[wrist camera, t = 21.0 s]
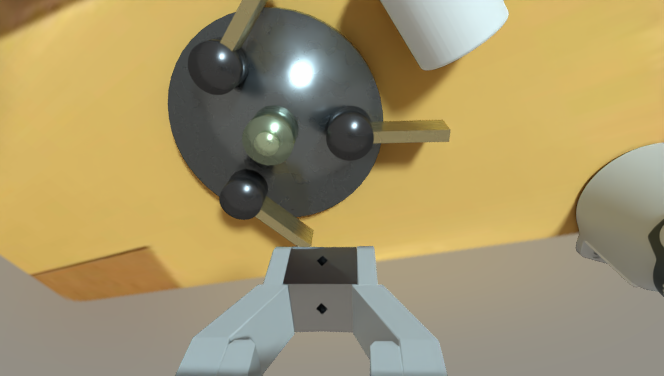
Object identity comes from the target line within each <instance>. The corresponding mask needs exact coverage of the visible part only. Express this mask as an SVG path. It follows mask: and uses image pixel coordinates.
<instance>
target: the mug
mask: <svg viewBox="0 0 664 376" xmlns="http://www.w3.org/2000/svg"><path fill="white" fill-rule="evenodd" d="M380 1H381V3H382V4H383V6H384V8H385V9H386V11H387V13H388V14H389V16H390V18H391V19H392V21H393V23H394V24H395V26H396V28H397V29H398V31H399V33H400V34H401V36H402V38H403V39H404V41H405V43H406V44H407V46H408V48H409V49H410V51H411V53H412V54H413V56H414V58H415V59H416V61H417V63H418V64H419V66H420V68H421V69H423V70H434V69H437V68H440V67H443V66H445V65H447V64H450V63H452V62H454V61H456V60H457V59H459V58H461V57H463V56H464V55H466V54H468V53H469V52H471V51H473V50H474V49H476V48H477V47H478V46H480V45H481V44H483V43H484V42H485V41H487V40H488V39H489V38H490V37H491V36H493V35H494V34H495V33H496V32H497V31H498V30H499V29H500V28H501V27H502V26H503V25H504V23H505V22H506V20H507V18H508V10H507V8H506V6H505V4H504V2H503V1H504V0H380Z"/></svg>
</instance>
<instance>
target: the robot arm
mask: <svg viewBox="0 0 664 376" xmlns="http://www.w3.org/2000/svg"><path fill="white" fill-rule="evenodd" d="M576 219H577V224H578V228H579V236H578V240H577V244H576V251H577V252H578V253H579V254H580V255H581V256H583V257H585V258H589V259H592V260H596V261H599V262H603V263H607V264H609V265H610V266H611V267H612V268H613V269H614V270H615V271H616V272H617V273H618V274H619V275H620V276H621V277H623V278H624V279H625V280H626V281H627V282H628V283H629V284H631V285H632V286H634V287H641V288H643V289H646V290H651V291H658V292H659V293H660V294H661V295H662V296H663V297H664V143H657V144H651V145H647V146H644V147H640V148H637V149H635V150H632V151H630V152H628V153H626V154H624V155H622V156H620V157H618V158H617V159H615V160H613V161H612V162H610V163H609V164H608V165H606V166H605V167H604V168H602V169H601V170H600V171H599V172H598V173H597V174H596V175H595V176H594V177H593V178H592V179H591V180H590V182H589V183H588V184H587V186H586V187H585V189H584V190H583V192H582V194H581V196H580V198H579V201H578V204H577V209H576ZM309 331H310V332H314V331H330V332H353V334H354V336H355V337H356V338H357V340H358V342H359V343H360V345H361V347H362V348H363V350H364V351H365V353H366V355H367V356H368V358H369V359H370V376H448V375H447V371H446V367H445V364H444V360H443V356H442V352H441V348H440V344H439V341H438V340H437V339H436V338H435V337H434V336H433V335H432V334H431V333H430V332H429V331H428V330H427V329H426V328H425V327H424V326H423V325H422V324H421V323H420V322H419V321H418V320H417V319H416V317H415V316H413V314H411V312H410V311H408V309H406V307H404V305H403V304H401V303H400V301H399V300H398V299H397V298H396V297H394V295H393V294H392V293H390V291H389V290H387V288H386V287H385V286H384V285H378V281H377V271H376V260H375V250H374V247H373V246H359V247H357V249H356V247H276V248H275V249H274V250H273V253H272V256H271V260H270V263H269V266H268V269H267V273H266V276H265V279H264V282H263V285H257V286H256V287H255V288H253V289H252V290H251V291H250V292H249V293H247V294H246V295H245V296H244V297H242V298H241V299H240V300H239V301H237V302H236V303H235V304H234V305H232V306H231V307H230V308H229V309H228V310H226V311H225V312H224V313H223V314H221V315H220V316H219V317H218V318H216V319H215V320H214V321H213V322H212V323H210V324H209V325H208V326H207V327H205V328H204V329H203V330H202V331H200V332H199V333H198V334H197V335H196V336H194V337H193V338H192V341H191V343H190V345H189V347H188V349H187V351H186V353H185V356H184V358H183V360H182V362H181V364H180V366H179V369H178V371H177V373H176V375H175V376H263V373H264V372H265V371H266V370H267V368H268V367H269V366H270V364H271V363H272V362H273V361H274V359H275V358H276V357H277V355H278V354H279V353H280V352H281V350H282V349H283V348H284V347H285V345H286V344H287V343H288V341H289V340H290V339H291V337H292V336H293V335H294V334H295V333H294V332H309Z"/></svg>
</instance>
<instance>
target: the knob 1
mask: <svg viewBox="0 0 664 376" xmlns="http://www.w3.org/2000/svg"><path fill="white" fill-rule="evenodd" d="M267 1H268V0H242V2H241V4H240V6H239V7H238V9H237V11H236V13H235V15H234V17H233V19H232V21H231V23H230V24H229V26H228V28H227V30H226V32H225V34H224V36H223V37H218V38H214V39H211V40H208V41H205V42H202V43H199V44H198V45H196V46H195V47H194V48H193V49H192V50H191V52H190V54H189V57H188V70H189V73H190V76H191V78H192V80H193V81H194V83H195V84H196V85H197V86H198V87H199V88H200V89H202V90H203V91H205V92H207V93H209V94H213V95H223V94H226V93H228V92H230V91H231V90H233V89H234V88H235V87H236V86H238V85H239V84H240V83H241V82H243V81H244V79H245V78H246V76H247V74H248V71H249V61H248V57H247V54H246V52H245V51H244V49H243V48H242V45H243V44H244V42H245V40H246V38H247V36H248V35H249V33H250V31H251V29H252V28H253V26H254V24H255V22H256V20H257V19H258V17H259V15H260V13H261V12H262V10H263V8H264V6H265V4H266V3H267Z"/></svg>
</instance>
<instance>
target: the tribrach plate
mask: <svg viewBox="0 0 664 376" xmlns="http://www.w3.org/2000/svg"><path fill="white" fill-rule="evenodd" d="M235 13H236V12H235ZM235 13H232V14H228V15H226V16H224V17H222V18H220V19H218V20H216V21H214V22H212V23H211V24H209V25H208V26H206V27H205V28H204V29H202V30H201V31H200V32H199V33H198V34H197V35H196V36H195V37H194V38H193V39H192V40H191V41H190V42H189V44H188V45H187V46H186V47H185V49H184V50H183V52H182V53H181V55H180V57H179V59H178V61H177V63H176V65H175V68H174V71H173V73H172V76H171V81H170V86H169V92H168V112H169V120H170V125H171V130H172V133H173V136H174V139H175V142H176V145H177V147H178V149H179V151H180V153H181V155H182V157H183V158H184V160H185V161H186V163H187V164H188V166H189V168H190V169H191V170H192V171H193V172H194V174H195V175H196V176H197V177H198V178H199V179H200V180H201V181H202V182H203V183H204V184H205V185H206V186H207V187H208V188H209V189H210V190H211V191H213V192H214V193H215V194H216V195H218V196H219V197H220V193H221V191H222V190H223V188H224V187H225V185H226V184H227V182H228V181H229V179H230V178H231V176H232V175H233V174H234V173H235V172H237V171H239V170H242V169H249V170H253V171H256V172H258V173H259V174H261V175H262V176H263V177H264V179H265V180H266V182H267V185H268V193H267V196H268V197H269V198H270V199H272V200H273V201H274V202H276V203H277V204H278V205H280V206H281V207H282V208H284V209H285V210H287V211H288V212H289V213H291V214H292V215H293V216H295V217H301V216H306V215H311V214H315V213H318V212H321V211H324V210H326V209H328V208H330V207H333V206H334V205H336V204H338V203H339V202H341V201H343V200H344V199H345V198H347V197H348V196H349V195H350V194H352V193H353V192H354V191H355V190H356V189H357V188H358V187H359V186H360V185H361V184H362V182H363V181H364V180H365V178H366V177H367V176H368V174H369V172H370V170H371V169H372V167H373V165H374V163H375V161H376V158H377V155H378V153H379V149H380V145H381V143H373V145H372V148H371V150H370V151H369V152H368V153H367V154H366V155H365V156H364V157H362V158H360V159H357V160H353V161H347V160H342V159H340V158H338V157H336V156H335V155H333V154H332V153H331V151H330V150H329V148H328V146H327V142H326V135H327V129H328V123H329V120H330V117H331V116H332V114H333V113H334V112H335V111H336V110H338V109H339V108H341V107H344V106H356V107H359V108H361V109H363V110H364V111H365V112H366V113H367V114H368V115H369V117H370V119H371V122H382V121H383V111H382V105H381V99H380V95H379V92H378V89H377V86H376V82H375V79H374V77H373V75H372V73H371V71H370V69H369V67H368V65H367V63H366V62H365V60H364V59H363V57H362V56H361V54H360V53H359V52H358V50H357V49H356V48H355V47H354V46H353V45H352V43H351V42H350V41H349V40H348V39H346V38H345V37H344V36H343V35H342V34H341V33H340V32H339V31H337V30H336V29H334V28H333V27H331V26H330V25H328V24H327V23H325V22H323V21H321V20H319V19H317V18H315V17H313V16H311V15H308V14H305V13H302V12H299V11H296V10H290V9H285V8H272V7H264V8H263V10H262V12H261V13H260V15H259V17H258V19H257V20H256V22H255V24H254V26H253V28H252V29H251V31H250V33H249V35H248V36H247V38H246V40H245V42H244V44H243V45H242V48H243V49H244V51H245V52H246V54H247V57H248V61H249V71H248V74H247V76H246V78H245V79H244V81H243V82H241V83H240V84H239V85H238V86H236V87H235V88H234V89H233V90H231V91H230V92H228V93H226V94H223V95H213V94H209V93H207V92H205V91H203V90H202V89H200V88H199V87H198V86H197V85H196V84H195V83H194V81H193V80H192V78H191V76H190V73H189V70H188V57H189V54H190V52H191V50H192V49H193V48H194V47H195V46H196V45H198V44H199V43H202V42H205V41H208V40H211V39H214V38H218V37H223V36H224V34H225V32H226V30H227V28H228V26H229V24H230V23H231V21H232V19H233V17H234V15H235Z"/></svg>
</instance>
